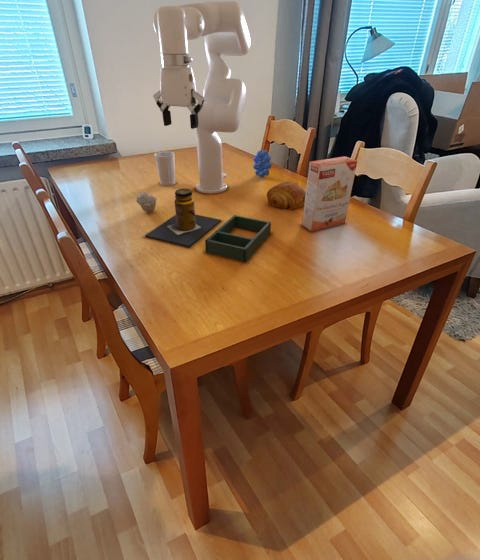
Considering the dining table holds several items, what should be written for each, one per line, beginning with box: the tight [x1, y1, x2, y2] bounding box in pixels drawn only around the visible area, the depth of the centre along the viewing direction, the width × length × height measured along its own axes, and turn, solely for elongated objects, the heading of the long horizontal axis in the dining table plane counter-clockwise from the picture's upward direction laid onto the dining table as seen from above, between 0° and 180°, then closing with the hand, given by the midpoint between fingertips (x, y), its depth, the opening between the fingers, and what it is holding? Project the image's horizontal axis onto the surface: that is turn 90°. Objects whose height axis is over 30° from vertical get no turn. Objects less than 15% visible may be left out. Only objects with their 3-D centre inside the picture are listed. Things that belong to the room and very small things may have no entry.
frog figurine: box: [135, 192, 157, 213], centre depth 123 cm, size 6×7×7 cm
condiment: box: [167, 188, 201, 235], centre depth 110 cm, size 7×8×12 cm
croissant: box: [266, 181, 306, 210], centre depth 130 cm, size 14×16×8 cm
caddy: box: [204, 214, 272, 263], centre depth 105 cm, size 19×13×4 cm, turn 155°
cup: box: [154, 150, 176, 187], centre depth 147 cm, size 8×8×12 cm
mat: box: [144, 214, 222, 249], centre depth 114 cm, size 20×16×1 cm
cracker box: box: [301, 156, 358, 232], centre depth 111 cm, size 14×6×21 cm, turn 117°
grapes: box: [252, 149, 273, 179], centre depth 153 cm, size 12×7×12 cm, turn 34°
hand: (181, 126), depth 109 cm, fingers open, 9 cm apart
